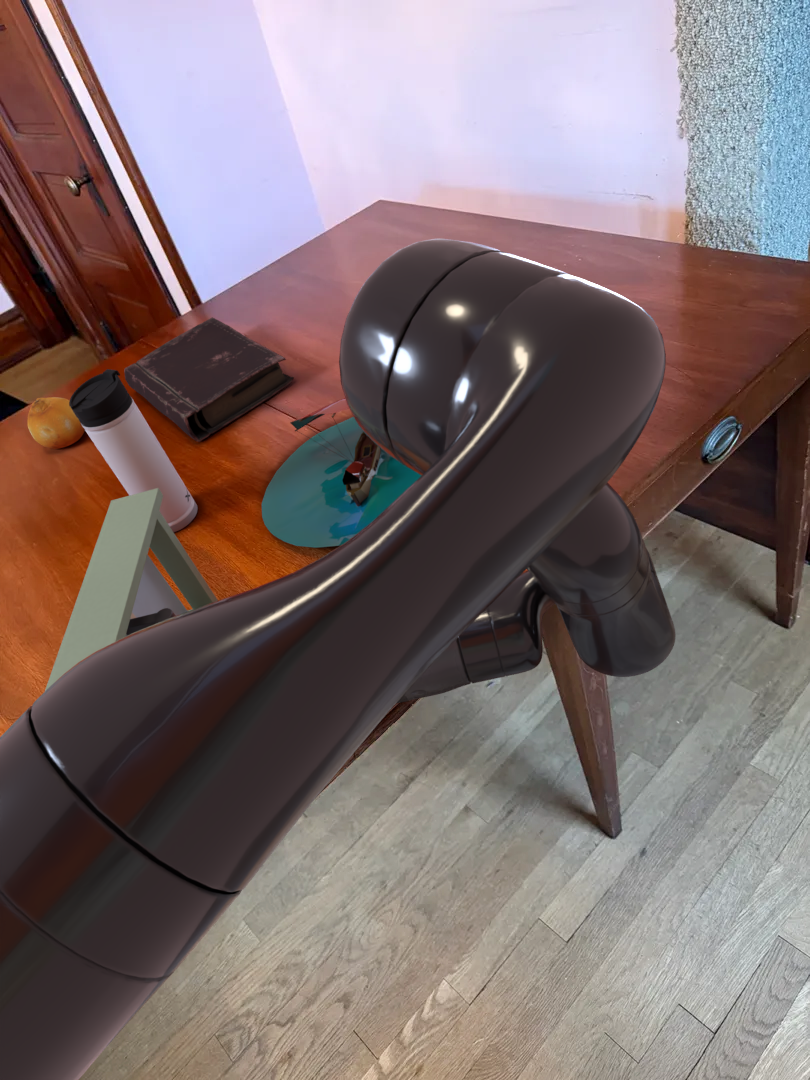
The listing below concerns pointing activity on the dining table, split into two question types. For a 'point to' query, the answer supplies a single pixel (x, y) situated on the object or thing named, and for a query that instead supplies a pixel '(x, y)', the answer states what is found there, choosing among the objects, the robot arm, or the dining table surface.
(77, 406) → the travel mug
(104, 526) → the window frame
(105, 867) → the robot arm
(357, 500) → the boat on round base
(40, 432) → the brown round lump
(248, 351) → the diary
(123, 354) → the dining table surface
